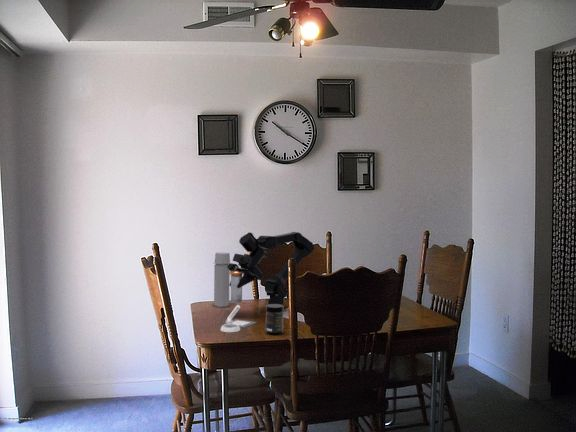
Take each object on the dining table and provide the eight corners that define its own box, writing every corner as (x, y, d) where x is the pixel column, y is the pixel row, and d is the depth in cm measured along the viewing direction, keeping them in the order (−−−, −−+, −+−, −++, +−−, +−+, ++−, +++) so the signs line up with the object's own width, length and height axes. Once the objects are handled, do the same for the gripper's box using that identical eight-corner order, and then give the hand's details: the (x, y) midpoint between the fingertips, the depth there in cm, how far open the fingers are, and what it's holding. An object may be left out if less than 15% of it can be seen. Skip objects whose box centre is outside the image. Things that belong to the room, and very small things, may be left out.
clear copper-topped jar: (243, 300, 230) (243, 270, 229) (242, 303, 224) (242, 272, 224) (230, 300, 230) (230, 270, 229) (229, 303, 224) (229, 272, 223)
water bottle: (231, 307, 247) (231, 253, 246) (214, 307, 245) (214, 253, 244) (228, 303, 256) (229, 251, 255) (212, 303, 254) (212, 251, 253)
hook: (252, 319, 201) (237, 309, 200) (233, 343, 203) (218, 333, 202) (251, 310, 209) (236, 301, 207) (233, 333, 210) (219, 324, 209)
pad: (235, 320, 222) (235, 319, 222) (256, 323, 217) (256, 321, 217) (222, 325, 213) (222, 324, 213) (243, 328, 208) (243, 327, 208)
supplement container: (286, 332, 204) (286, 305, 203) (277, 336, 198) (278, 308, 197) (271, 329, 207) (271, 303, 206) (262, 333, 201) (262, 306, 200)
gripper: (230, 245, 235) (210, 272, 228) (257, 248, 222) (236, 277, 215) (244, 261, 241) (224, 288, 234) (271, 265, 228) (251, 294, 221)
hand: (233, 286), depth 226 cm, fingers closed on clear copper-topped jar, 5 cm apart
